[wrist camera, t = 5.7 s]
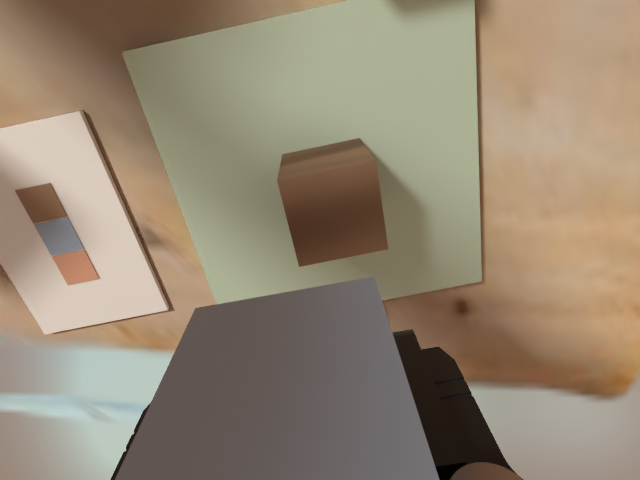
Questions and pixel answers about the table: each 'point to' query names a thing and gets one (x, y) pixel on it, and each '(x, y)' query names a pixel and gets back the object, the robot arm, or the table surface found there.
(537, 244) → the table surface
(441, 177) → the build plate
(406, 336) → the robot arm
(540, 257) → the table surface
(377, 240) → the brick base
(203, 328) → the brick
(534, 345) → the table surface
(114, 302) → the page
